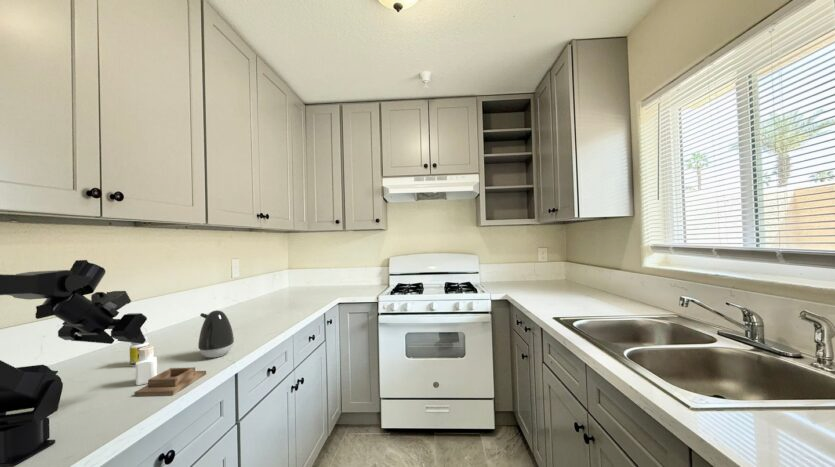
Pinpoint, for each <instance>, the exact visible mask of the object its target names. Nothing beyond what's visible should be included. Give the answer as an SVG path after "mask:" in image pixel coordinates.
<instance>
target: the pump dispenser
mask: <svg viewBox="0 0 835 467" xmlns="http://www.w3.org/2000/svg"><path fill="white" fill-rule="evenodd" d="M200 317H202V318H204V321H203V323H202V326H201V329H200V332H199V338H198V349H199V352H200V353H201V355H202V356H203V357H205V358H207V359H215V358H220V357H223V356H225V355H226V354H228V353H229V352H230V351H231V349H232V348H233V344H234V343H235V336H234V332H233V328H232V325H231V322H230V320H229V318H228V316H227V315H226V314H225V313H224V311H222V310H219V309H218V310H217V309H216V310H213V311H211V312H209V313H207V314H206V313H203V312H202V313H201V312H200Z"/></svg>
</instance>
